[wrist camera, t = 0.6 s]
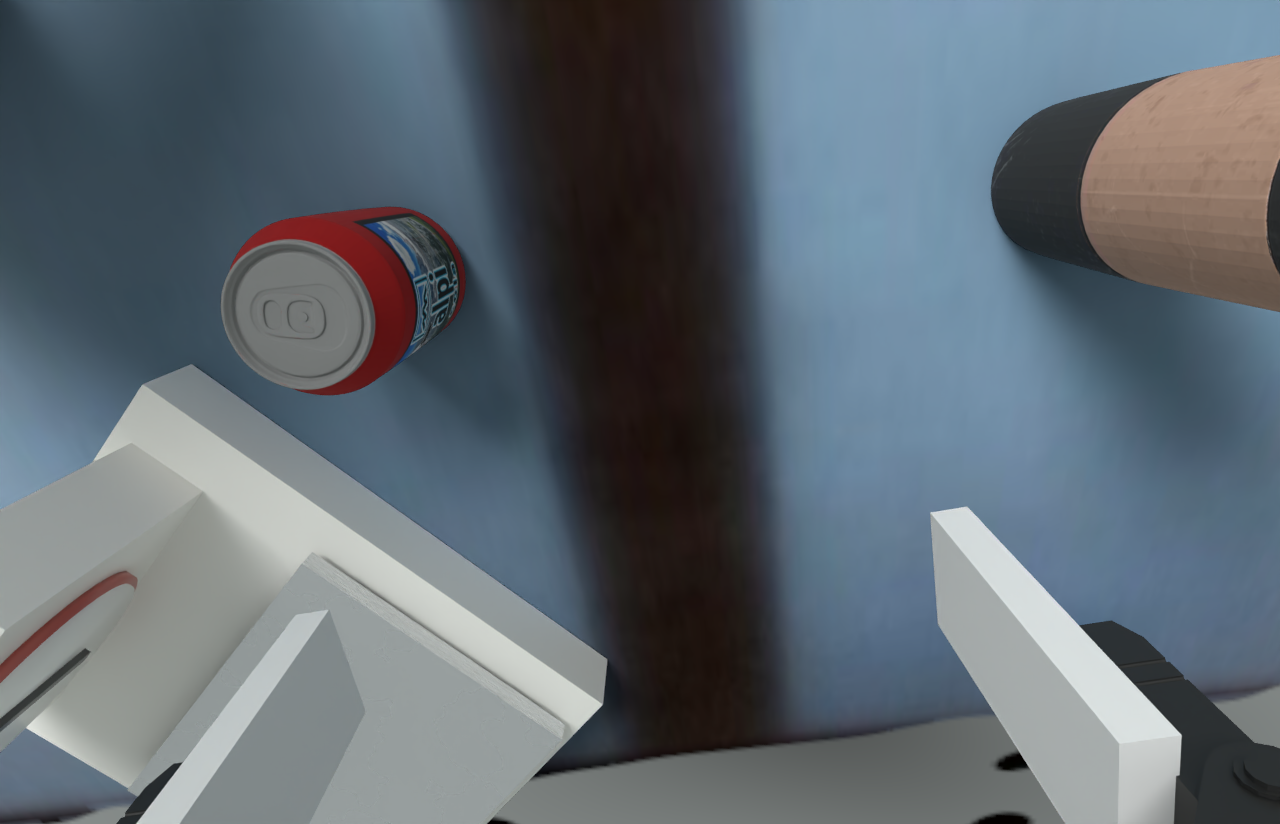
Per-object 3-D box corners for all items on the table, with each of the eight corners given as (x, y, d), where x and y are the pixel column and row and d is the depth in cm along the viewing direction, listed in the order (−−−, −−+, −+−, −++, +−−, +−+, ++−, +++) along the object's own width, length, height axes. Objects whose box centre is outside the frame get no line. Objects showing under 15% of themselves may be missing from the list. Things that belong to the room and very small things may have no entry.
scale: (10, 640, 45) (-349, 899, 29) (191, 364, 40) (-125, 493, 24) (399, 877, 50) (277, 1210, 34) (607, 659, 45) (580, 932, 29)
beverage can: (470, 344, 39) (394, 414, 28) (340, 336, 39) (210, 402, 28) (470, 209, 37) (387, 225, 26) (332, 200, 37) (188, 212, 26)
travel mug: (1177, 123, 35) (1788, 63, 16) (1101, 280, 38) (1559, 390, 19) (1026, 71, 35) (1475, -53, 16) (957, 234, 37) (1278, 299, 18)
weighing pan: (141, 773, 42) (127, 790, 41) (312, 551, 38) (301, 563, 37) (380, 915, 45) (372, 934, 44) (564, 724, 41) (562, 739, 40)
